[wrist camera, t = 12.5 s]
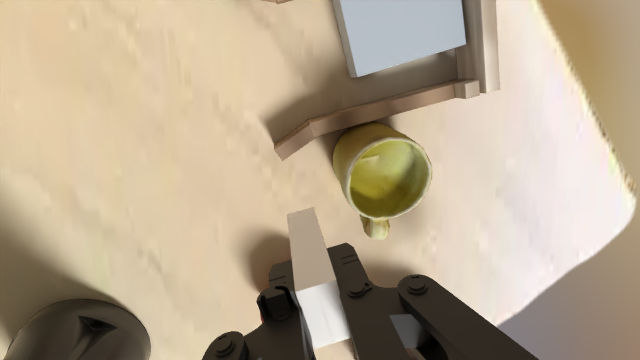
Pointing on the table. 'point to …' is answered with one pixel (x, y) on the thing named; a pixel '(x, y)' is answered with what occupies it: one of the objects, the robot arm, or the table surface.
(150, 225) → the table surface
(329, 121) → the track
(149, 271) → the table surface
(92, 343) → the robot arm
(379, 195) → the mug
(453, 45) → the pale blue block
